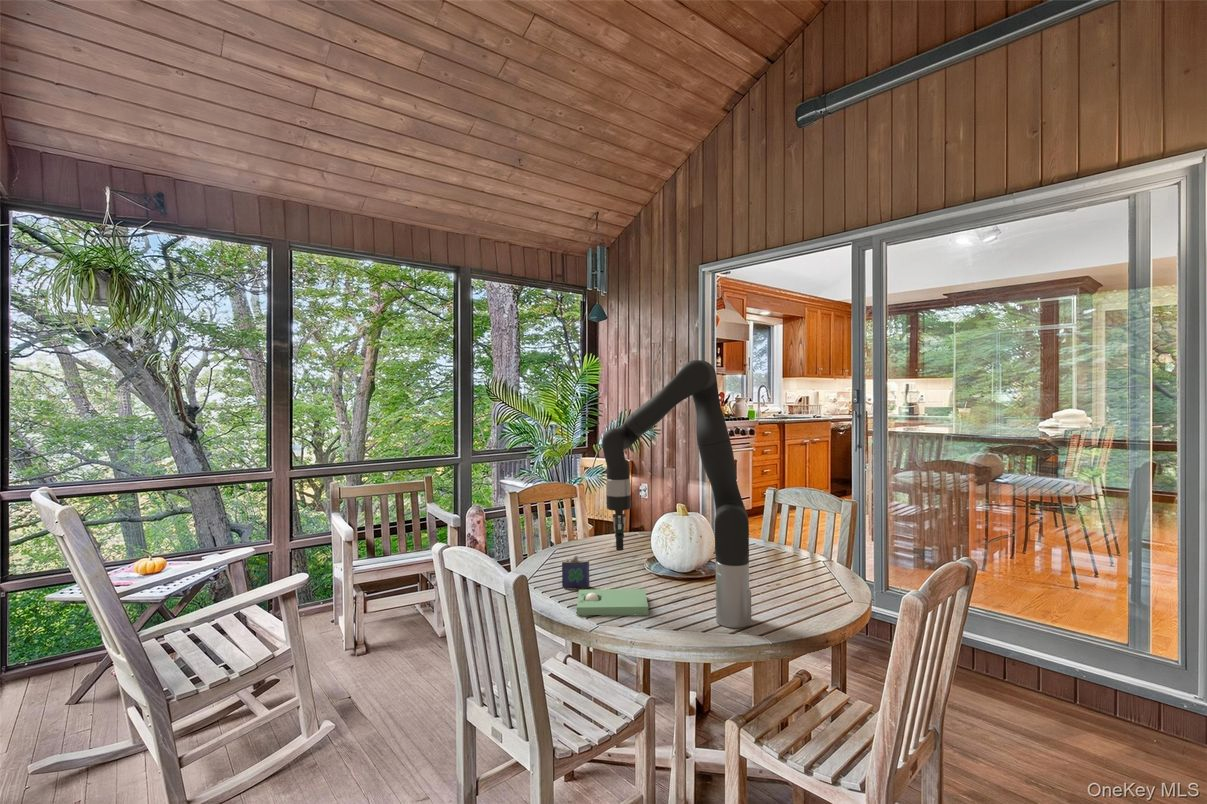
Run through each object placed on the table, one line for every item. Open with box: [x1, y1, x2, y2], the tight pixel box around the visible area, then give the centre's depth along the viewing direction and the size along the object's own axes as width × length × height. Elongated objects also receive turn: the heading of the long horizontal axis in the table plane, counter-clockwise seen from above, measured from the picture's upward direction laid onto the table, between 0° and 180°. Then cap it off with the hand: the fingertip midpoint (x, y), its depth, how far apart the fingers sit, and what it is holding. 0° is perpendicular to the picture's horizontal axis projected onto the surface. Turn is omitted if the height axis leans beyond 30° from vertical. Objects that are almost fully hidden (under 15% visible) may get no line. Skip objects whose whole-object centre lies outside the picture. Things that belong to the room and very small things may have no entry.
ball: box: [585, 593, 598, 601], centre depth 173 cm, size 4×4×4 cm
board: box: [576, 588, 649, 616], centre depth 173 cm, size 21×15×2 cm
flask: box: [561, 555, 590, 589], centre depth 190 cm, size 9×3×11 cm, turn 95°
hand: (619, 549), depth 172 cm, fingers closed
